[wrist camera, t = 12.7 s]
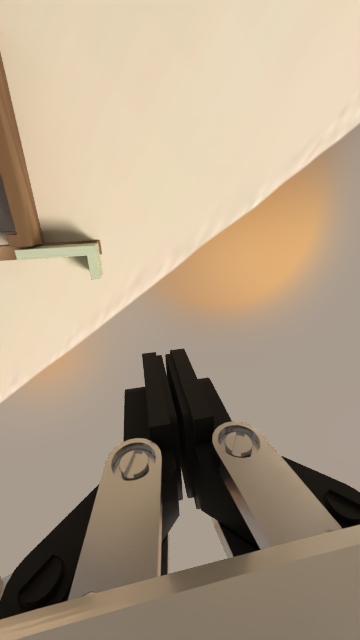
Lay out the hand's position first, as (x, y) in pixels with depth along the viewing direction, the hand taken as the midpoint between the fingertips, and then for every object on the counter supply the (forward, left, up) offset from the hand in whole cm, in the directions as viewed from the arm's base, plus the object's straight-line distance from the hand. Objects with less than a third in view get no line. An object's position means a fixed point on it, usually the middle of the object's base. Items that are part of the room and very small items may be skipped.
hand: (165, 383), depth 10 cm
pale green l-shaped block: (+9, -2, -25) cm, 27 cm away
